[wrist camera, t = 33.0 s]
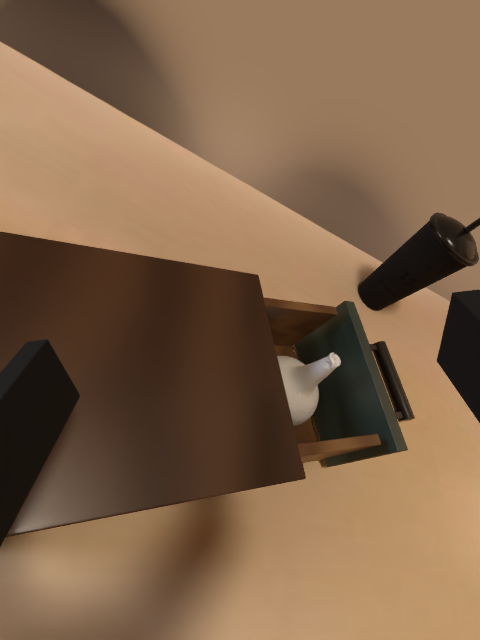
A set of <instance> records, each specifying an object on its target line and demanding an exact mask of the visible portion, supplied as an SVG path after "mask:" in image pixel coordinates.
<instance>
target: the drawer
mask: <svg viewBox="0 0 480 640" xmlns="http://www.w3.org/2000/svg"><path fill="white" fill-rule="evenodd" d="M264 302H265V306H266V311H267V315H268V319H269V323H270V328H271V332H272V336H273V340H274V345H275V349H276V353H277V356H288V357H292V358H295V355H294V351H293V348H292V346H293V345H295V348H296V352H297V355H298V359H299V361H300V362H302V363H303V364H305V365H307V364H310V363H313V362H315V361H318V360H320V359H323V358H325V357H327V356H329V354H330V353H332V352H333V353H335V354H334V355H336V354H337V356H338V357H339V358H340V360H341V364H340V366H337V368H335V369H334V370H333V371H332V372H331V373H330V374H329V375H328V376H327V377H326V378H325V379H323V380H322V381H321V382H320V383H319V384H318V385H317V386H318V390H319V400H318V404H317V407H316V410H315V411H314V413H313V416H314V420H315V424H316V428H317V431H318V435H319V439H320V441H317V440H316V436H315V432H314V429H313V425H312V421H311V417H310V418H309V419H308V420H307V421H305V422H304V423H302V424H299V425H296V426H294V430H295V434H296V438H297V443H298V447H299V451H300V455H301V460H302V463H305V462H311V461H317V460H321V459H325V462H326V466H327V467H331V466H337V465H341V464H346V463H351V462H355V461H360V460H364V459H369V458H374V457H378V456H383V455H388V454H392V453H397V452H402V451H406V450H408V449H407V446H406V443H405V440H404V438H403V435H402V432H401V429H400V427H399V424H398V421H399V422H403V421H408V420H412V419H414V418H415V417H414V415H413V412H412V409H411V407H410V404H409V402H408V399H407V397H406V394H405V392H404V389H403V386H402V384H401V381H400V379H399V376H398V374H397V371H396V368H395V366H394V363H393V361H392V358H391V356H390V353H389V351H388V348H387V345H386V343H385V342H384V341H380V342H376V343H374V344H369V342H368V339H367V337H366V334H365V331H364V329H363V326H362V323H361V320H360V318H359V315H358V312H357V309H356V307H355V304H354V302H350V301H344V302H343V303H341V304H340V305H338V306H337V307H336V308H335V307H331V306H324V305H316V304H308V303H301V302H293V301H285V300H278V299H270V298H264ZM372 352H373V353H372ZM333 353H332V354H333ZM373 354H374V356H375V359H376V361H375V359H374V356H373ZM376 362H377V364H378V367H379V369H378V367H377V364H376ZM379 370H380V372H379ZM380 373H381V375H382V378H383V380H382V378H381V375H380ZM383 381H384V383H385V386H386V389H387V391H386V389H385V386H384V383H383ZM387 392H388V394H389V397H390V399H389V397H388V394H387ZM390 400H391V402H390ZM391 403H392V405H393V408H394V410H393V408H392V405H391ZM394 411H395V412H394ZM397 419H398V421H397Z"/></svg>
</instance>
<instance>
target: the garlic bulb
mask: <svg viewBox="0 0 480 640" xmlns="http://www.w3.org/2000/svg"><path fill="white" fill-rule="evenodd" d="M332 353H333V352H332ZM332 353H330V354H329V356H327V357H325V358H323V359H320V360H318V361H315V362H313V363H310V364H307V365H305V364H303V363H302V362H300V361H299V360H297V359H295V358H292V357H288V356H277V357H278V362H279V366H280V370H281V374H282V379H283V383H284V387H285V391H286V396H287V400H288V404H289V409H290V413H291V417H292V421H293V426H296V425H299V424H302V423H304V422H305V421H307V420H308V419H309V418H310V417H311V416H312V415H313V413H314V411H315V410H316V407H317V404H318V400H319V390H318V386H317V385H318V384H319V383H320V382H321V381H322V380H323V379H325V378H326V377H327V376H328V375H329V374H330V373H331V372H332V371H333V370H334V369H335V368H337V366H340V364H341V360H340V358H339V357H338V356H337V354H336V355H334V354H335V353H333V354H332Z"/></svg>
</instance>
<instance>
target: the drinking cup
mask: <svg viewBox="0 0 480 640" xmlns="http://www.w3.org/2000/svg"><path fill="white" fill-rule="evenodd" d="M479 225H480V218H479V219H477V220H476V221H474V222H473V223H472V224H470V225H469V226H467V227H465V226H464V225H463V224H461V223H460V222H459V221H457V220H455V219H453V218H451V217H448V216H446V215H444V214H442V213H435V214H434V215H432V216H431V218H430V221H429V222H428V223H427V224H426V225H424V226H423V227H422V228H421V229H420V230H419V231H418V232H417V233H416V234H415V235H413V236H412V237H411V238H410V239H409V240H408V241H407V242H406V243H405V244H403V245H402V246H401V247H400V248H399V249H398V250H397V251H396V252H395V253H394V254H393V255H391V256H390V257H389V258H388V259H387V260H386V261H385V262H384V263H383V264H381V265H380V266H379V267H378V268H377V269H376V270H375V271H374V272H373V273H372V274H370V275H369V276H368V277H367V278H366V279H365V280H364V281H363V282H362V283H361V284H360V285H359V287H358V292H359V295H360V297H361V299H362V300H363V302H364V303H365V304H366V305H367V306H368V307H369V308H371V309H373V310H381V309H383V308H385V307H387V306H389V305H391V304H393V303H395V302H397V301H399V300H401V299H403V298H405V297H407V296H409V295H411V294H413V293H415V292H417V291H419V290H421V289H423V288H425V287H427V286H429V285H431V284H433V283H435V282H436V281H439V280H441V279H442V278H444V277H447V276H449V275H450V274H453V273H454V272H457V271H459V270H461V269H462V268H465V267H466V266H473V265H475V264H477V262H478V260H479V257H478V253H477V247H476V243H475V240H474V238H473V236H472V235H471V233H470V231H472V230H473V229H475V228H476V227H478V226H479Z"/></svg>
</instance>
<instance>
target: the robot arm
mask: <svg viewBox="0 0 480 640" xmlns="http://www.w3.org/2000/svg"><path fill="white" fill-rule="evenodd" d="M437 362H438V363H439V365H440V366H441V368H442V369H443V371H444V372H445V373H446V375H447V376H448V378H449V379H450V381H451V382H452V384H453V385H454V386H455V388H456V389H457V391H458V392H459V394H460V395H461V397H462V398H463V399H464V401H465V402H466V404H467V405H468V407H469V408H470V410H471V411H472V412H473V414H474V415H475V417H476V418H477V420H478V421H479V423H480V290H472V291H463V292H455V293H452V297H451V301H450V305H449V310H448V314H447V318H446V323H445V327H444V332H443V336H442V340H441V345H440V349H439V354H438V358H437ZM79 398H80V394H79V392H78V391H77V389H76V387H75V385H74V384H73V382H72V380H71V379H70V377H69V375H68V373H67V372H66V370H65V368H64V366H63V365H62V363H61V361H60V360H59V358H58V356H57V354H56V353H55V351H54V349H53V347H52V346H51V344H50V342H49V341H48V339H45V340H37V341H28V342H26V343H25V344H24V345H23V347H22V348H21V349H20V350H19V351H18V352H17V354H16V355H15V356H14V357H13V358H12V359H11V361H10V362H9V363H8V364H7V365H6V367H5V368H4V369H3V370H2V371H1V372H0V547H1V545H2V543H3V541H4V539H5V537H6V535H7V533H8V531H9V530H10V528H11V526H12V524H13V522H14V520H15V518H16V516H17V514H18V513H19V511H20V509H21V507H22V505H23V503H24V501H25V499H26V497H27V496H28V494H29V492H30V490H31V488H32V486H33V484H34V482H35V481H36V479H37V477H38V475H39V473H40V471H41V469H42V467H43V465H44V464H45V462H46V460H47V458H48V456H49V454H50V452H51V450H52V448H53V447H54V445H55V443H56V441H57V439H58V437H59V435H60V433H61V431H62V430H63V428H64V426H65V424H66V422H67V420H68V418H69V416H70V415H71V413H72V411H73V409H74V407H75V405H76V403H77V401H78V399H79Z"/></svg>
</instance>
